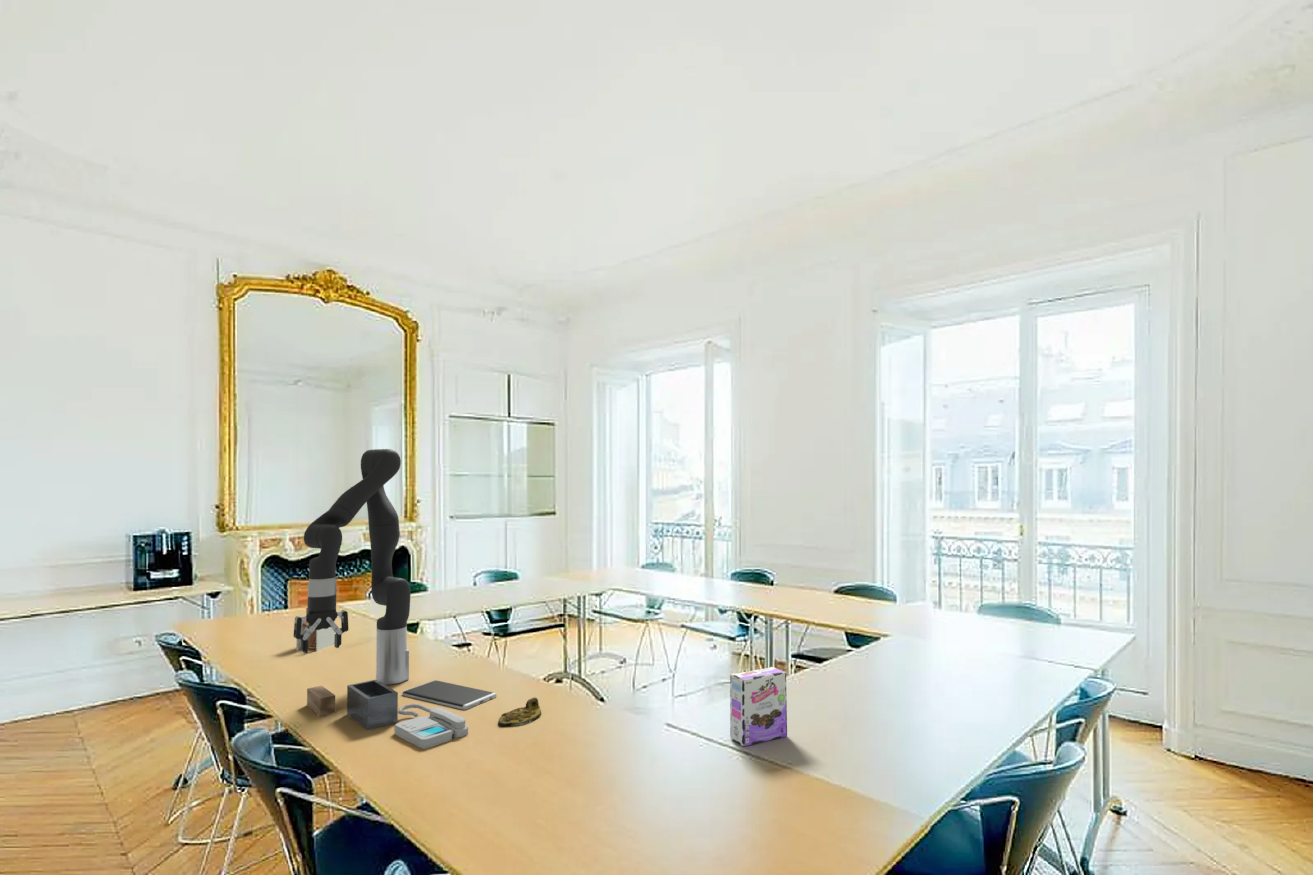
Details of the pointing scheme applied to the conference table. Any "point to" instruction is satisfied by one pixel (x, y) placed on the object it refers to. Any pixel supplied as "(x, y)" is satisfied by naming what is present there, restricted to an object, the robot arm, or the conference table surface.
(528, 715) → the seal
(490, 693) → the smartphone
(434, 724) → the intercom
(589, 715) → the conference table surface
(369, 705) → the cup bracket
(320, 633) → the staircase
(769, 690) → the candy box
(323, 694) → the brown rectangular block
